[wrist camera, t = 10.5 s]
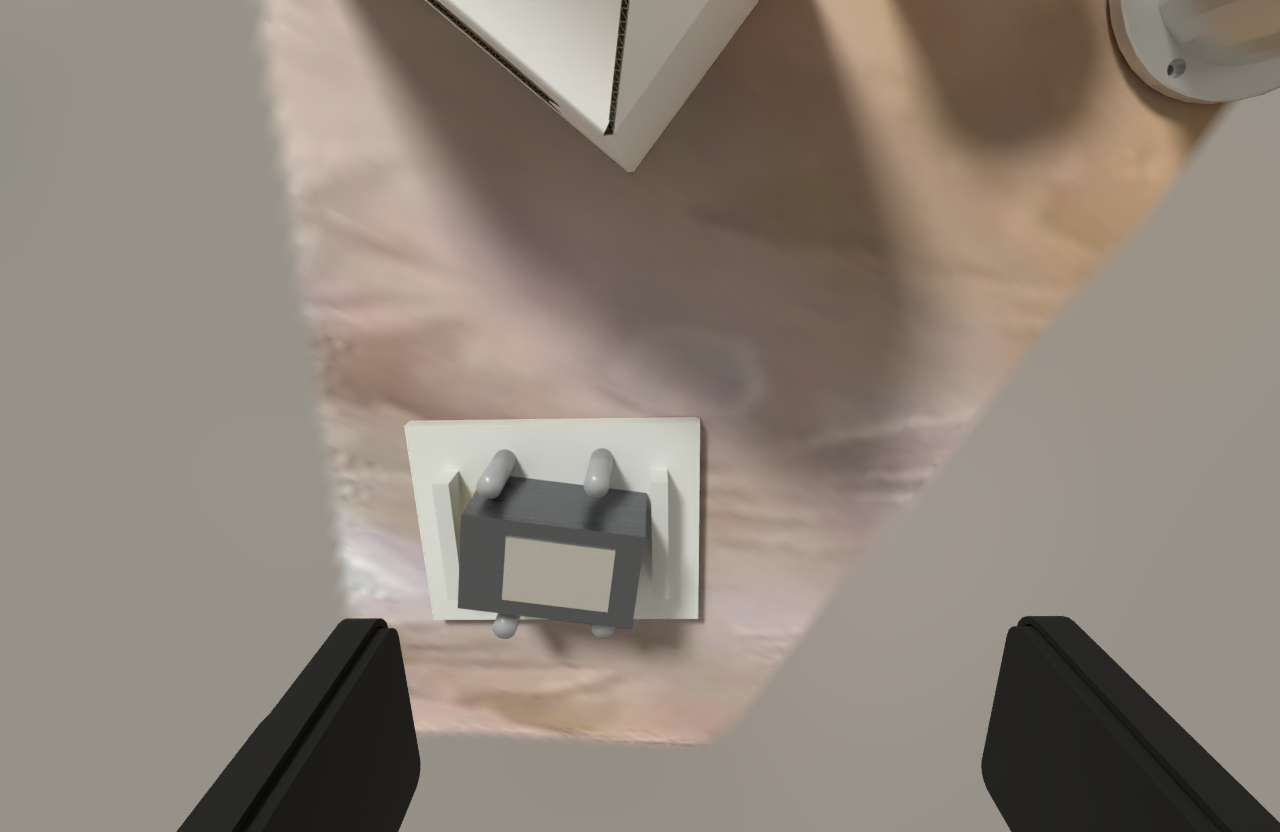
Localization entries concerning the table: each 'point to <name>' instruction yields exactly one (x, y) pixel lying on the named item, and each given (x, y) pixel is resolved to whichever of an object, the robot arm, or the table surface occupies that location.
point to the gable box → (604, 58)
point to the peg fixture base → (568, 453)
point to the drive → (553, 552)
